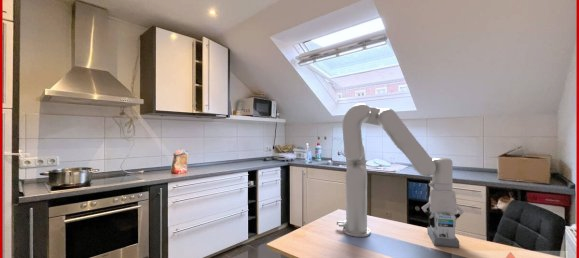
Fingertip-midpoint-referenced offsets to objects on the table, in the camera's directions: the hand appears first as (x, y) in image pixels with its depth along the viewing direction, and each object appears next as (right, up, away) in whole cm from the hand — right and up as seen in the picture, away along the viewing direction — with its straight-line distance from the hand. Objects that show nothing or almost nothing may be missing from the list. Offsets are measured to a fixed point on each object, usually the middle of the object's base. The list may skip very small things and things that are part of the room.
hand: (442, 227), depth 114 cm
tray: (0, -6, 0) cm, 6 cm away
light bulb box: (0, -4, 0) cm, 4 cm away
